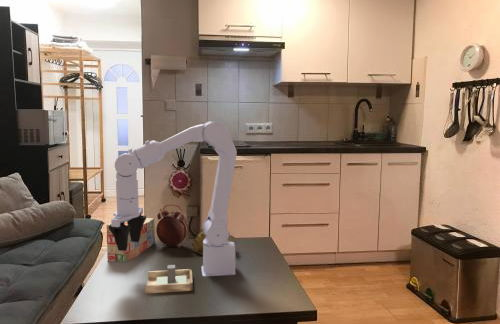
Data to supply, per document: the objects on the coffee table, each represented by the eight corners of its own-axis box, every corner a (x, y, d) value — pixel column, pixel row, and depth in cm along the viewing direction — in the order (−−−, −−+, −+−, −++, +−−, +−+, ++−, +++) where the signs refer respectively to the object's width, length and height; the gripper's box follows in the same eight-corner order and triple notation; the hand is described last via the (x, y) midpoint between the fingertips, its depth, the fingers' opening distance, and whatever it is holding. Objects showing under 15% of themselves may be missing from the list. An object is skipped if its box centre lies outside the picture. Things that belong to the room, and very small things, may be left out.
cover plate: (186, 277, 112) (186, 261, 112) (186, 288, 106) (186, 270, 105) (157, 279, 111) (156, 262, 111) (155, 290, 104) (155, 272, 104)
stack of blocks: (139, 242, 147) (138, 209, 145) (155, 243, 146) (154, 210, 144) (107, 262, 126) (106, 224, 125) (125, 264, 125) (124, 225, 123)
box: (191, 277, 114) (191, 269, 114) (192, 292, 104) (192, 283, 104) (148, 280, 112) (148, 271, 112) (145, 295, 102) (144, 286, 102)
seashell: (236, 259, 133) (239, 229, 133) (192, 257, 130) (195, 227, 129) (230, 249, 144) (233, 221, 143) (190, 247, 141) (192, 219, 140)
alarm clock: (189, 245, 143) (189, 204, 141) (184, 249, 138) (183, 207, 137) (161, 243, 145) (160, 202, 144) (155, 247, 141) (154, 205, 139)
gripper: (126, 192, 118) (128, 237, 119) (99, 202, 104) (101, 253, 105) (149, 192, 117) (150, 238, 118) (125, 203, 102) (126, 255, 104)
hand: (129, 245), depth 111 cm, fingers open, 7 cm apart
